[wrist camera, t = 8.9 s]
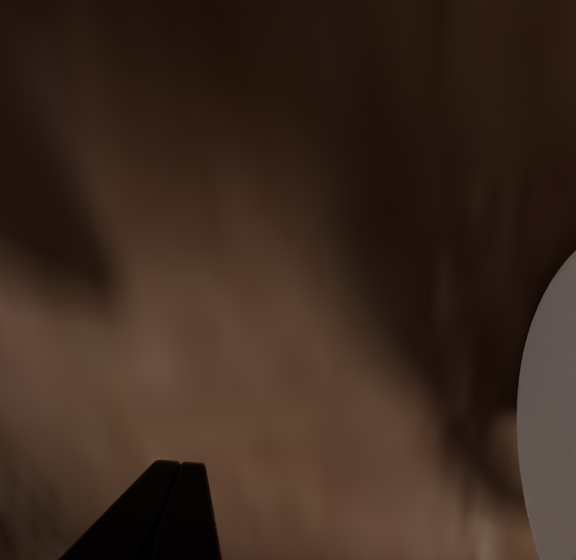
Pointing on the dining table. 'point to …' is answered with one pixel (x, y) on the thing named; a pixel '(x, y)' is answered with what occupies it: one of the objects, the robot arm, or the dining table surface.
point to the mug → (550, 419)
